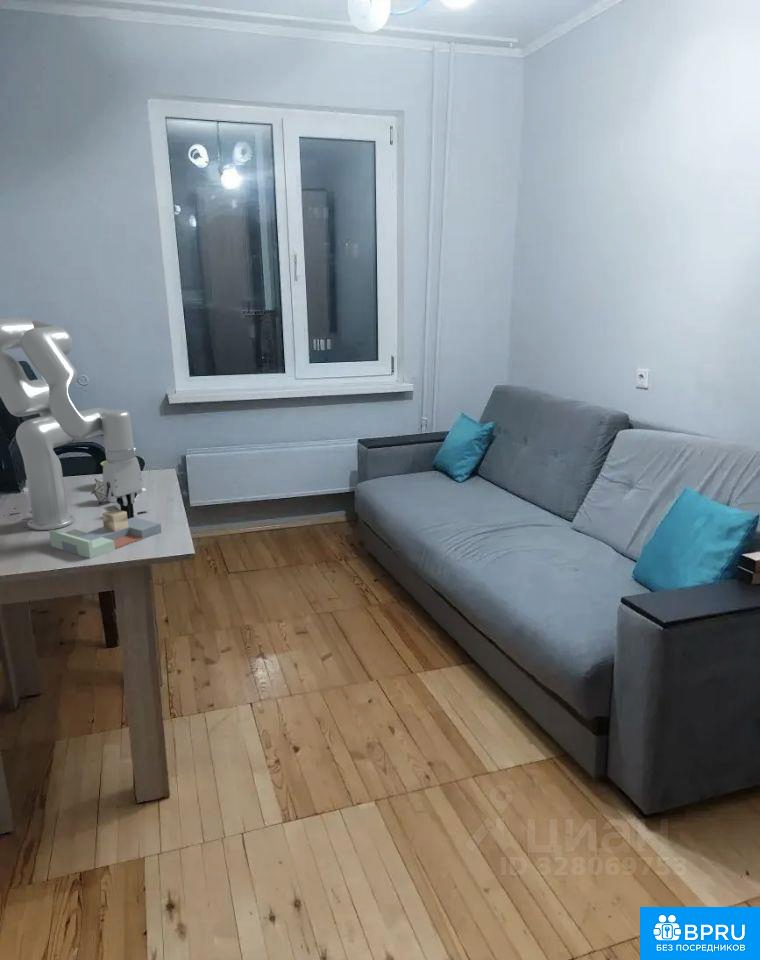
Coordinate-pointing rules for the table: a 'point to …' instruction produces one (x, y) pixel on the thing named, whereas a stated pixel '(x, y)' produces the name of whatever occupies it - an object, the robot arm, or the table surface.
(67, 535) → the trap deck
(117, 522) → the maple block
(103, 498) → the game die
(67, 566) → the table surface
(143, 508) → the bracket
